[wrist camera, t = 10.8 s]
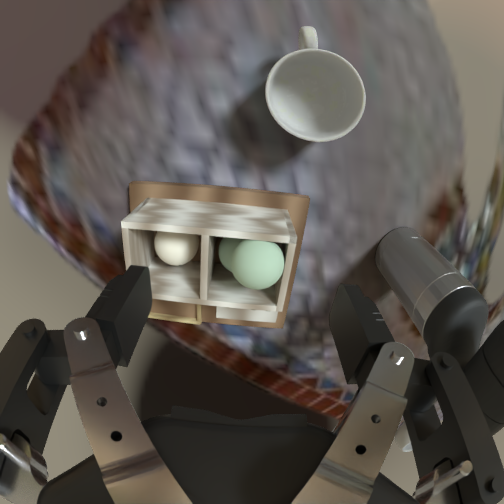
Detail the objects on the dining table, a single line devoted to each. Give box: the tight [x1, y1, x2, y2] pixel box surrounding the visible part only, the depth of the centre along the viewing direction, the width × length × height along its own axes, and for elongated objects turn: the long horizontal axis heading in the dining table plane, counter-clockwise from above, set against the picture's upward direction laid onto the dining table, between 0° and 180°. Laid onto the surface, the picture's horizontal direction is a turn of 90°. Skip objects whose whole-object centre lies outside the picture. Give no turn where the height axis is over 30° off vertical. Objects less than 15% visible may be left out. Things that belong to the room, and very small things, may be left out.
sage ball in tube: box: [219, 237, 244, 272], centre depth 37 cm, size 6×6×6 cm
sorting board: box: [121, 181, 310, 328], centre depth 38 cm, size 25×23×10 cm
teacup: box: [265, 26, 366, 142], centre depth 28 cm, size 14×11×8 cm
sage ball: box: [231, 239, 284, 290], centre depth 32 cm, size 6×6×6 cm
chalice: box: [395, 422, 413, 452], centre depth 59 cm, size 14×14×15 cm
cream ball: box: [154, 231, 199, 266], centre depth 37 cm, size 6×6×6 cm
